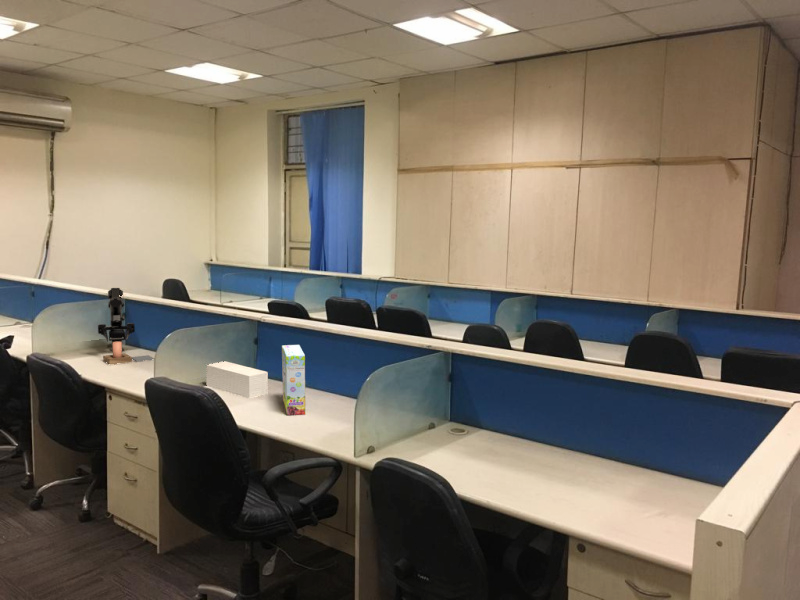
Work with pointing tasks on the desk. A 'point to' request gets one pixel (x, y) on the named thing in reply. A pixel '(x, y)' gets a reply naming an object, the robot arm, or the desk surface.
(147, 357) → the rubber mat
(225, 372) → the stack of papers
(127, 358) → the walnut pocket block
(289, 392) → the snack box
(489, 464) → the desk surface
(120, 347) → the terracotta peg
